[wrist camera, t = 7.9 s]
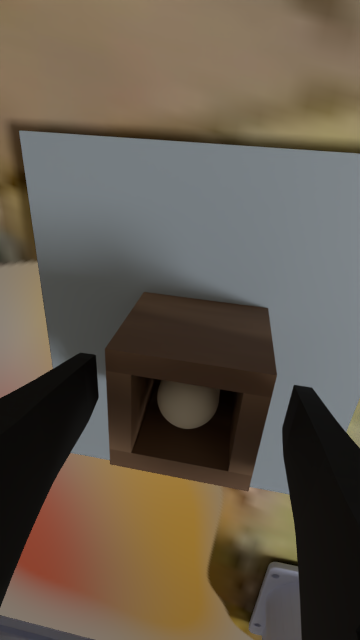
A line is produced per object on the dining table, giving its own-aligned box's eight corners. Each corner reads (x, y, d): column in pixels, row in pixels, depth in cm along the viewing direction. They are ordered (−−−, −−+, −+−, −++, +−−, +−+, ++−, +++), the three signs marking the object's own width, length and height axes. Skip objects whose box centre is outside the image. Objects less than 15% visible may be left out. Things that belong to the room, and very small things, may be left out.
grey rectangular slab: (315, 479, 19) (337, 591, 14) (74, 435, 20) (23, 521, 16) (434, 158, 11) (567, 169, 7) (37, 131, 13) (-80, 125, 8)
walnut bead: (247, 405, 16) (248, 491, 12) (142, 388, 16) (109, 464, 12) (268, 308, 13) (277, 375, 9) (143, 291, 14) (104, 348, 10)
